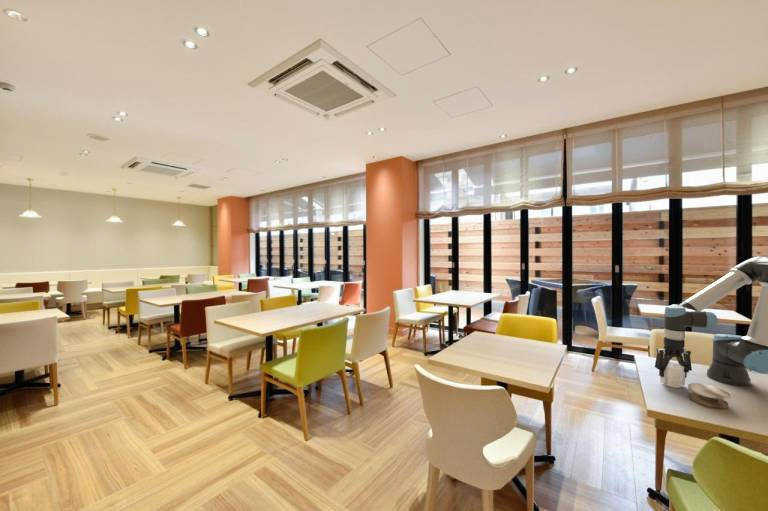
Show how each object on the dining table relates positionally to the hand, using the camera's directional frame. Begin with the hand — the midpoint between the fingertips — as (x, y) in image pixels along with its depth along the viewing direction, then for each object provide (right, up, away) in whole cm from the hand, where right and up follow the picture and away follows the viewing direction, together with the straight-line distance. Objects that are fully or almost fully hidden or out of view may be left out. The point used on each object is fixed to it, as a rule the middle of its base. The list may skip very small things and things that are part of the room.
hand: (672, 383), depth 155 cm
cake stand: (+1, -2, -16) cm, 16 cm away
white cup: (0, -1, 0) cm, 1 cm away
